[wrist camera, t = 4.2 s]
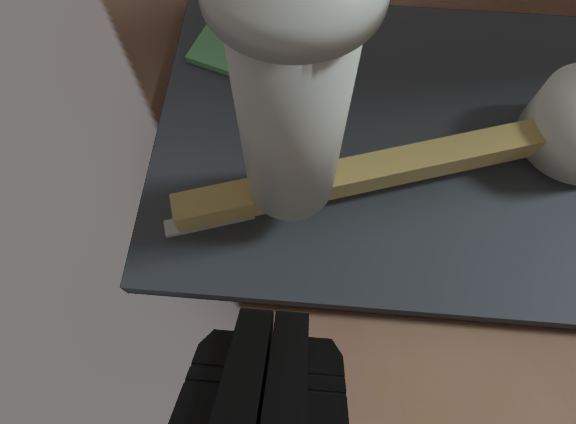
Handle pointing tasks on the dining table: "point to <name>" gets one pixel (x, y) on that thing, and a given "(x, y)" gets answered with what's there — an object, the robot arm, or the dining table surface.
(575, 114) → the domed post with rod
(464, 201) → the dark grey base plate
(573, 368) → the dining table surface
